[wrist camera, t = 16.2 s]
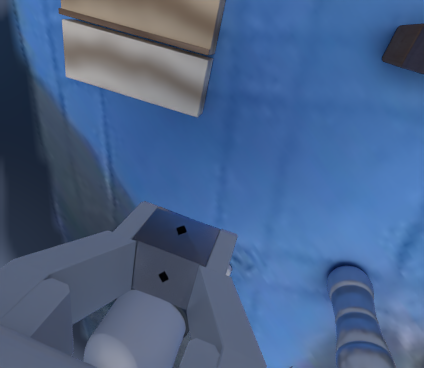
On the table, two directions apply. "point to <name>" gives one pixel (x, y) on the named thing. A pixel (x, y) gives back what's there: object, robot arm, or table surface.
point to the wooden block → (407, 48)
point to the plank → (136, 67)
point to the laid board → (156, 19)
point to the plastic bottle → (356, 321)
